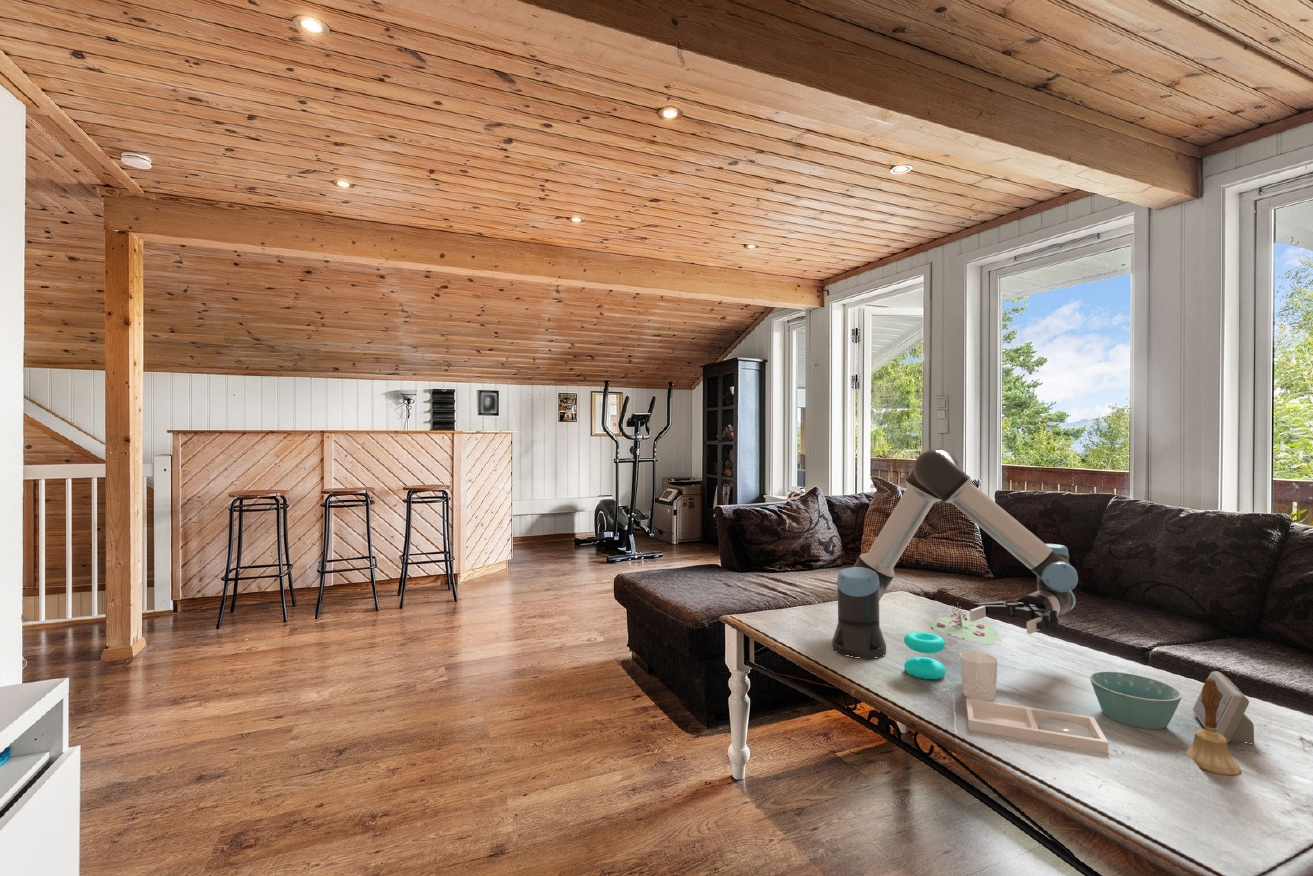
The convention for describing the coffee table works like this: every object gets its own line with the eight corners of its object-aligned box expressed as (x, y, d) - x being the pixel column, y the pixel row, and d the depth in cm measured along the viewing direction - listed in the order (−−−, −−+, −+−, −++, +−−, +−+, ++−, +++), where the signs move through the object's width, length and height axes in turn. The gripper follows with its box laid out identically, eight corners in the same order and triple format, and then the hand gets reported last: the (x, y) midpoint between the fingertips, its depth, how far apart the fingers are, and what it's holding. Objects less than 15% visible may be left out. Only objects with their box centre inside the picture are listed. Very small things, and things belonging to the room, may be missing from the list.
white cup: (988, 692, 148) (988, 651, 148) (1004, 706, 140) (1003, 663, 140) (955, 691, 148) (954, 651, 148) (968, 705, 140) (967, 662, 141)
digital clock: (1192, 712, 136) (1191, 665, 136) (1248, 724, 130) (1247, 675, 130) (1194, 740, 123) (1193, 688, 124) (1256, 754, 118) (1255, 699, 118)
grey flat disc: (1042, 738, 122) (1042, 733, 122) (1034, 720, 131) (1034, 715, 131) (1096, 747, 119) (1096, 742, 119) (1084, 728, 127) (1084, 723, 127)
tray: (968, 734, 127) (968, 719, 127) (966, 711, 138) (966, 698, 138) (1108, 758, 117) (1108, 742, 117) (1093, 731, 127) (1093, 717, 127)
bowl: (1167, 714, 135) (1167, 677, 135) (1195, 746, 121) (1194, 705, 121) (1083, 702, 142) (1082, 667, 142) (1099, 731, 128) (1099, 692, 128)
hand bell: (1247, 766, 113) (1245, 681, 113) (1233, 780, 109) (1231, 691, 109) (1190, 748, 120) (1188, 667, 120) (1174, 760, 116) (1173, 676, 116)
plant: (1026, 643, 185) (1026, 613, 186) (969, 648, 181) (968, 618, 181) (967, 620, 210) (967, 594, 210) (915, 624, 205) (915, 598, 205)
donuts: (941, 644, 153) (899, 637, 159) (941, 684, 153) (900, 676, 159) (948, 634, 161) (908, 628, 167) (948, 672, 161) (909, 664, 167)
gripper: (1092, 632, 152) (1055, 650, 139) (990, 611, 172) (950, 625, 160) (1091, 602, 152) (1054, 617, 140) (989, 585, 172) (949, 596, 160)
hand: (998, 621), depth 150 cm, fingers open, 13 cm apart
